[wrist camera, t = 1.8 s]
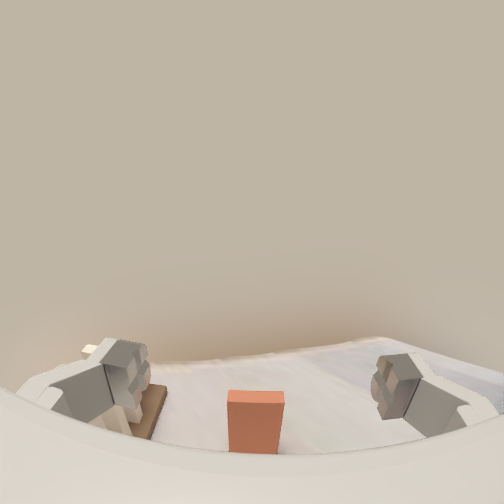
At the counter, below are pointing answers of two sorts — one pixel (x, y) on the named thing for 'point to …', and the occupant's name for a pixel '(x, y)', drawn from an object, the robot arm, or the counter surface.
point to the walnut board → (149, 411)
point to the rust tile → (254, 421)
